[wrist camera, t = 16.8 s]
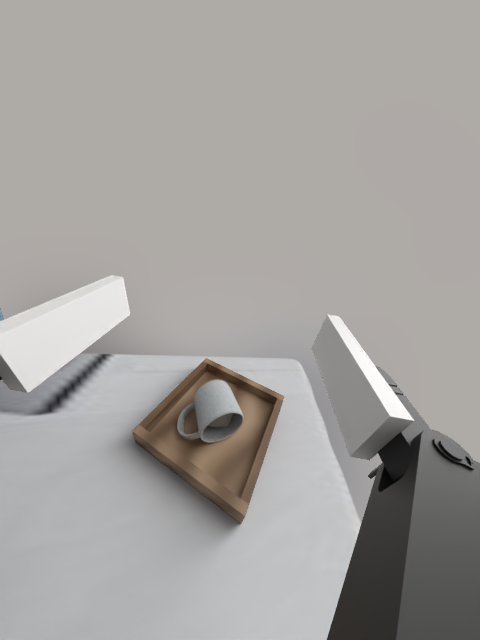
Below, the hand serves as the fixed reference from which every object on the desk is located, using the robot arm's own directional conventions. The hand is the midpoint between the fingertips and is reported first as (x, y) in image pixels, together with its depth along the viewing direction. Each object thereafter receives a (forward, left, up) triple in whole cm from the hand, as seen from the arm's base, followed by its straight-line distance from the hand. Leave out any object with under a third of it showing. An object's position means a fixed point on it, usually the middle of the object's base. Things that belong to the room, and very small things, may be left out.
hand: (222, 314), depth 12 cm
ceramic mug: (-4, +7, -29) cm, 30 cm away
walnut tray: (-3, +9, -30) cm, 31 cm away
